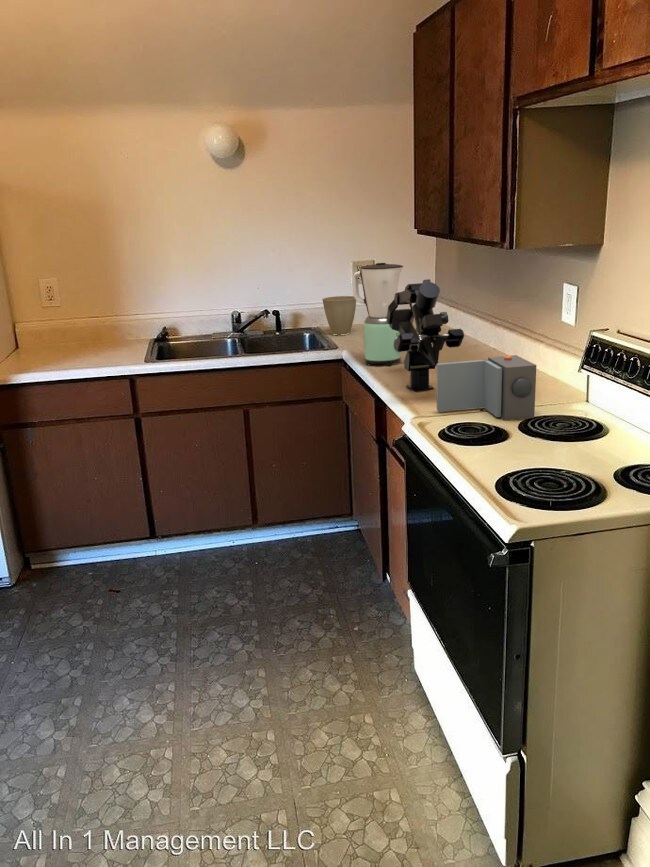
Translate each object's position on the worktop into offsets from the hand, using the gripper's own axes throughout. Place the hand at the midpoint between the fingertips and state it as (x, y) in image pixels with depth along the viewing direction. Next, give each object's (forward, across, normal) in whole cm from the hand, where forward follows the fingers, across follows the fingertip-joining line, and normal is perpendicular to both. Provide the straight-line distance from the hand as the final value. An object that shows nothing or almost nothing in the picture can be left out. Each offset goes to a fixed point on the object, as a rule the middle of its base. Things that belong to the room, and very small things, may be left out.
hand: (436, 364), depth 201 cm
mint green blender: (-32, -3, +48) cm, 58 cm away
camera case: (+19, +16, -3) cm, 25 cm away
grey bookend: (+17, +5, -2) cm, 18 cm away
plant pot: (-76, -7, +92) cm, 120 cm away
